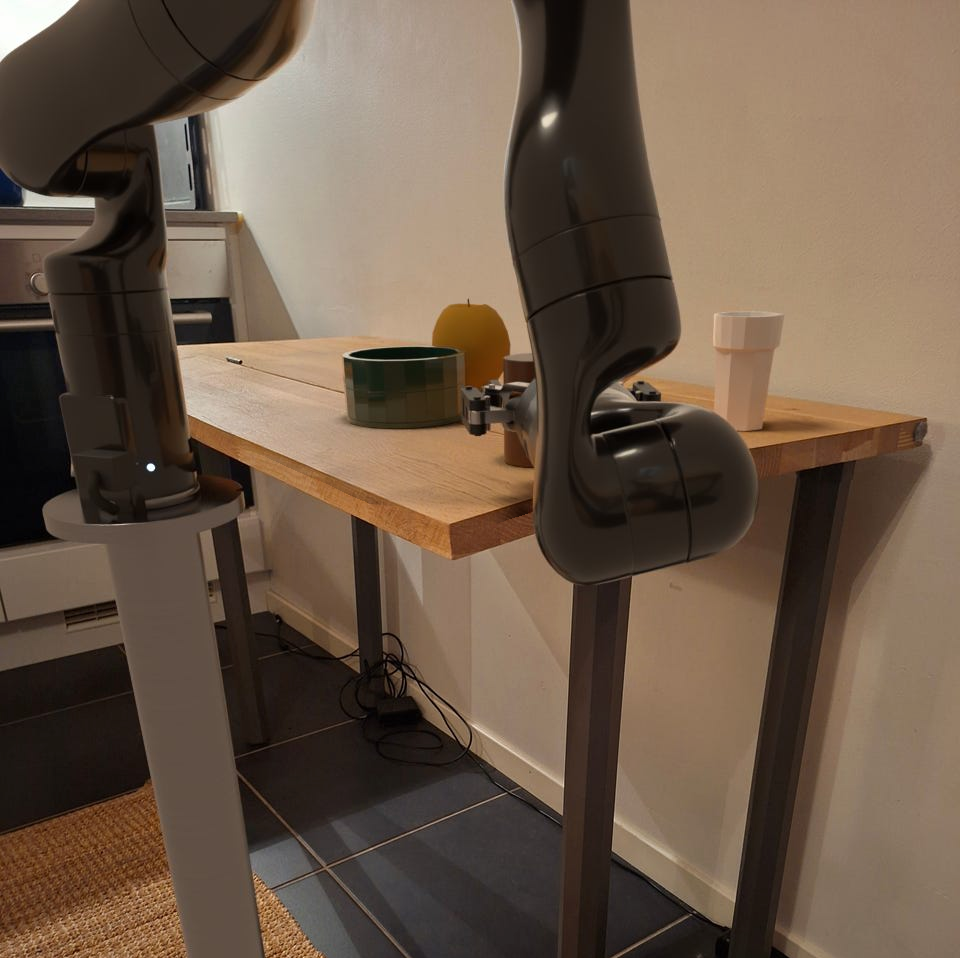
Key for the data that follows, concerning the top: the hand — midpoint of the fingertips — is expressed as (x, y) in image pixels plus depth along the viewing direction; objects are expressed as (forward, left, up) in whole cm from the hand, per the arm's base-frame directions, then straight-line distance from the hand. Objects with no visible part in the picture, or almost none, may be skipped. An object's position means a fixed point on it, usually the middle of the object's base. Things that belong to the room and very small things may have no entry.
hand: (545, 391), depth 73 cm
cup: (+27, -12, -7) cm, 30 cm away
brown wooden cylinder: (+6, +3, -7) cm, 10 cm away
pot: (+22, +24, -7) cm, 33 cm away
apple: (+36, +22, -7) cm, 43 cm away
